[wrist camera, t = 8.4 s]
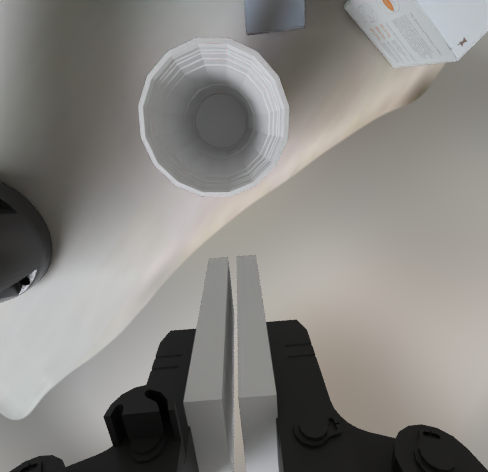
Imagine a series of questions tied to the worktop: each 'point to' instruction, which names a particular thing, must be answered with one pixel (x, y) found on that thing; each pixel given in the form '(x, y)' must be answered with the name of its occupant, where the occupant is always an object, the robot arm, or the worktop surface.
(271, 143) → the plastic cup
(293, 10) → the lever
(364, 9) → the small box
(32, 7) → the worktop surface
